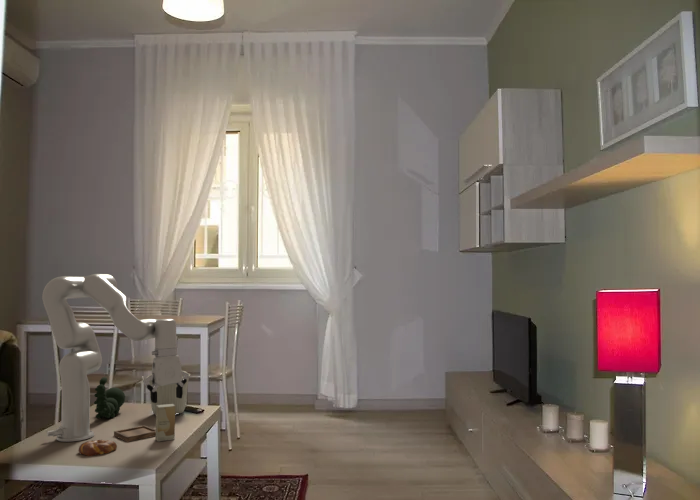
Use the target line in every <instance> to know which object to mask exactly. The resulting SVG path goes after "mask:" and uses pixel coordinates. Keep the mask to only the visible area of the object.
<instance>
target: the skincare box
mask: <svg viewBox="0 0 700 500" xmlns="http://www.w3.org/2000/svg"><path fill="white" fill-rule="evenodd" d="M175 427H176V415H175V405H174V404H165V405H156V415H155V429H156V436H155V440H156V442H164V441H171V440H172V441H173V440H175V438H176V437H175V435H176V434H175V433H176V432H175V430H176V428H175Z"/></svg>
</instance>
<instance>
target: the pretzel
mask: <svg viewBox="0 0 700 500" xmlns="http://www.w3.org/2000/svg"><path fill="white" fill-rule="evenodd" d="M117 448H118V445H117V443H116V442H115V441H113V440H110V439H106V440H104V439H98V440H88V441H85V442H82V443H81V444H80V445H79V446H78V450H77V451H78V453H79V454H80V455H83V456H87V457H94V456H98V455H104V454H109V453H111V452H114V451H116V450H117Z"/></svg>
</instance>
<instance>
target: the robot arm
mask: <svg viewBox="0 0 700 500" xmlns="http://www.w3.org/2000/svg"><path fill="white" fill-rule="evenodd" d="M41 296H42V303H43V306H44V309H45V312H46V314H47V317H48V320H49V324H50V328H51V330H52V334H53V337H54V341H55V344H56V346H58V348H60V349H62V350H72V349H74V351H71V352H68V353H67V354H65V355H63V357H62V358H61V359H60V362H59V364H58V370H59V376H60V384H61V413H60V414H61V422H60V423H61V425H59V426H58V427H57V428H56V429H54V430H53V429H52V430H47V431H46V436H47V437H56V441H58V442H61V443H62V442H64V443H66V442H67V443H70V442H72V443H73V442H79V441H80V442H81V441H84V440H88V439H91V438H93V437H94V436H95V431H93V430H90V425H91V423H90V422H91V421H90V417H91V416H90V415H91V414H90V413H91V408H90V407H91V403H90V401H91V388H90V381H89V378H88V375H90V374H93V373H95V372H97V371H99V369H100V368H101V366H102V363H103V357H102V352H101V349H100V346H99V343H98V340H97V337H96V333H95V331H94V329H93V328H92V326H90V324H88V323H86V322H83V321H79V322H78V321H77V320H76V316H75V314H74V310H73V308H72V306H71V305H70V304H69V302H68V301H67V300H68V299H69V300H71V299H85V298H91V299H92V300H93V301H94V302H96V303H97V304H98V305H99V306H100V307H101V308H102V309H103V310H105V311H106V312H107V314H109V317H110V319H111V321H112V322H113V324H114V326H115V327H116V328H117V329H118V330H119V331H120V332H121V333H122V334H123V335H125V336H126V337H127V338H128V339H130V340H132V341H133V342H140V341H145V340H147V341H148V340H151V339H154V350H153V351H151V355H152V356H154V357H153V359H152V365H151V374H152V375H150V374H149V375H150V376H149V375H148V376H149V377H147V376H146V378H144V379H143V380H142V383H143V385H144V386H145V388H146V389H147V390H148V391H149V394H150V393H151V399H150V402H151V401H152V402H153V403H157V392H156V389H157V388H158V386H164V385H170V384H176V385H177V387H176V397H177V398H182V395H183V387H184V384H185V383H186V382H187V379H188V376H189V374H190V373H189V374H188V372H187V373H185V372H183V371H184V370H182V369H183V368H182V364H181V363H182V362H181V358H180V355H178V353H177V352H178V350H177V349H178V346H177V321H176V319H174V318H162V319H156V318H144V319H143V318H142V319H139V318H137V316H135V315H134V314H133V313H132V312H131V311H130V310H129V309H128V306H127V303H128V298H127V295H125V294H124V293H123V292H122V291H121V290H119V289H118V282H117V280H116V279H115V277H114V276H112V274H108V273H94V274H93V273H92V274H89V275H84V276H83V275H82V276H81V275H79V276H78V275H77V276H75V275H73V276H72V275H63V276H62V275H61V276H57V277H55V278H52V279H50V280H49V281H48V282H47V284H46V285H45V286H44V289H43V291H42V295H41ZM182 375H183V379H182ZM189 377H190V376H189ZM150 380H152V385H150V384H149V381H150Z"/></svg>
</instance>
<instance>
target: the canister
mask: <svg viewBox="0 0 700 500" xmlns="http://www.w3.org/2000/svg"><path fill="white" fill-rule="evenodd" d="M182 371H183V372H185V373H188V372H187V371H185V370H182ZM188 374H189V376H188V379H187V382H186V383H185V384H184V387H183V395H182V398H177V397H176V387H177V385H176V384H170V385H164V386H158V388H157V389H156V392H157V403H153V402H152V401H151V393H150V392H149V397H150V404H151V411H152V413H153V414H154V415H155V416H156V405H165V404H174V405H175V414H176V413H181V414H182V413H183V412H184V411H185V409H186V405H187V397H188V389H189V379H190V377H191V373H188ZM150 375H152V373H150V374H149V375H147V376H146V378H147V377H149V376H150ZM182 379H183V375H182ZM149 384H150V385H152V380H150V381H149Z"/></svg>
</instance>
